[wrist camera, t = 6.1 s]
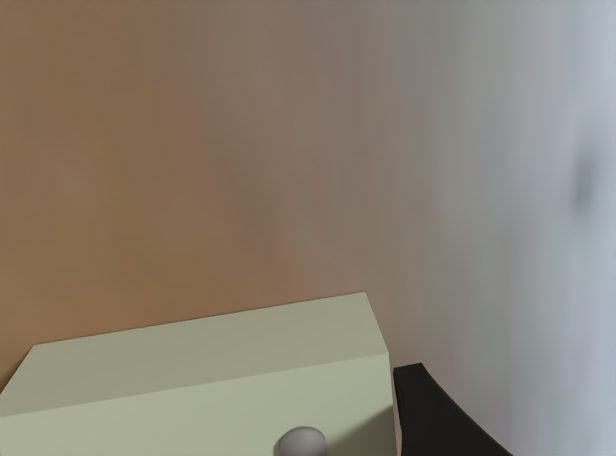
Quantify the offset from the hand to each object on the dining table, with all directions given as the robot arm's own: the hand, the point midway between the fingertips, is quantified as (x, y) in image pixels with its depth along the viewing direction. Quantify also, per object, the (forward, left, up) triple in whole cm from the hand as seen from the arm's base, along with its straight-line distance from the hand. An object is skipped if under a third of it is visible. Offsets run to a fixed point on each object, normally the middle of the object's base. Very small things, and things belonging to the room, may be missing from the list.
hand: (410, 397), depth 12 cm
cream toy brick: (-5, -1, -1) cm, 5 cm away
